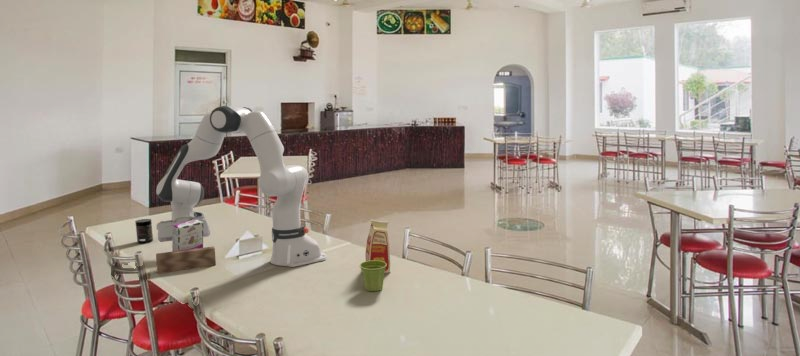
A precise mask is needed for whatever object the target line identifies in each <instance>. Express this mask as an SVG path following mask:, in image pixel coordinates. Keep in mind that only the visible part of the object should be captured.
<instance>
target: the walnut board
mask: <svg viewBox="0 0 800 356" xmlns="http://www.w3.org/2000/svg"><path fill="white" fill-rule="evenodd" d="M215 250H216V248H215V246H207V247H203V248H197V249H189V250H181V251H173V252H172V251H166V252H160V253H155V259H156V261H155V262H156V271H157V274H162V273H163V274H164V273H169V272H177V271H185V270H190V269H198V268H205V267H213V266H217V263H216V251H215Z"/></svg>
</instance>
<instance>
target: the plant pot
mask: <svg viewBox="0 0 800 356" xmlns="http://www.w3.org/2000/svg"><path fill="white" fill-rule="evenodd" d="M358 266H359V268H360V271H361V272H362V273H361V274H362V279H363V286H364V288H365V289H364V290H365V291H368V292H373V291H375V292H379V291H381V290H383V287H384V280H385V279H384V278H385V273H384V271H385V267H386V266H387V264H386V263H385V262H383V261H378V260H372V261H366V260H365V261H362V262H361V263H359V265H358Z"/></svg>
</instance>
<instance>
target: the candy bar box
mask: <svg viewBox="0 0 800 356" xmlns="http://www.w3.org/2000/svg"><path fill="white" fill-rule="evenodd" d="M171 245H172V246H171V248H172V251H171V252H173V251H181V250H189V249H197V248H204V237H203V222H202V221H200V220H198V219H196V220H191V221H187V222H183V223H179V224H175V225H172V244H171Z"/></svg>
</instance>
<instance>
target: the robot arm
mask: <svg viewBox="0 0 800 356" xmlns="http://www.w3.org/2000/svg"><path fill="white" fill-rule="evenodd" d="M241 133H243V134H245V135H246V137H247V139H248V140H249V143H250V145H251V147H252V149H253V151H254V153H255V156H256V157H257V161H258V164H259V169H260V170H259V171H260V173H259V174H260V175H259V178H258V184H257V185H258V188H259V190H260V192H261V193H262V194H263V195H264V196H265V197H276V201H275V204H274V205H273V207H272V210H271V214H272V215H271V216H272V228H271V240H272V253H271V258H270V263H271V265H275V266H279V267H281V266H283V267H289V268H290V267H291V268H295V267H299V266H304V265H308V264H314V263H318V262H323V261H325V260H327V255H326V253H325V252H324V251H323V250H321V247H320V245H319V242H318V241H317V240H315V239H314V238H312V237H311V236H310V235H308V233H309V232H310V229H309V228H308V227H306V226H304V225H301V204H302V199H303V196H304V195H303V194H304V190H305V187H306V186H307V184H308V182H309V177H310V176H309V173H308V171H307V169H306V168H305V167H304V166H302V165H299V164H298V165H297V164H289V165H285V161H284V157H283V156H284V155H283V154H284V152H285V146H284V145H283V143H282V141H281V139H280V137H279V134H278V133H277V131H276V129H275V127H274V126H273V124H272V122H271V121H270V119H269V118H268V117H267V115H266V114H265V113H264V112H263V111H260V110H253V109H251V108H249V107H245V106H237V105H228V106H226V105H221V106H217V107H216V108H214V109H213V110H212V111H211V112H207V113H206V114H205V115H204V116H203V117H202V119H201V121H200V122H199V125H198V127H197V129H196V132H195V134H194V136H193V138H192V139H191V140H190V141H189V142H188V143H187V144H183V145H181V147H180V148H179V150H178V151H177V153H176V155H175V156H174V157H173V159H172V161H171V163H170V165H169V166H168V168H167V170H166V171H165V173H164V175H163V176H162V177H161V179H160V180H159V182H157V183H158V184H157V185H156V190H155V194H156V196H157V198H158V199H160V201H162V202H164V203H165V202H166V203H170V207H171V210H172V211H171V219H170V220H169V219H168V220H161V221H159V222H158V223H157V224H156V230H157V240H158V241H159V242H160V243H164V242H171V241H172V225H175V224H179V223H183V222H187V221H191V220H196V219H198V220H200V221H202V222H203V238H207V237H209V236H210V235H211V229H210V228H211V227H210V225H209V221H208V220H207V218H206V215H205V213H204V212H201V211H194V207H197V206H198V205H199V204H201V202H202V201H203V199H204V198H205V188H204V187H203V185H202V184H201V183H200V182H198V181H190V180H184V179H178V177H179V175H181V172H182V171H183V168H184V167H185V166H186V165H187V164H189V163H191V162H196V161H203V160H208V159H211V158H213V157H215V156H216V155H218V153H219V152H220V150H221V149H222V148H221V147H222V145H223V142H224V139H225V137H226V134H241Z"/></svg>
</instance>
